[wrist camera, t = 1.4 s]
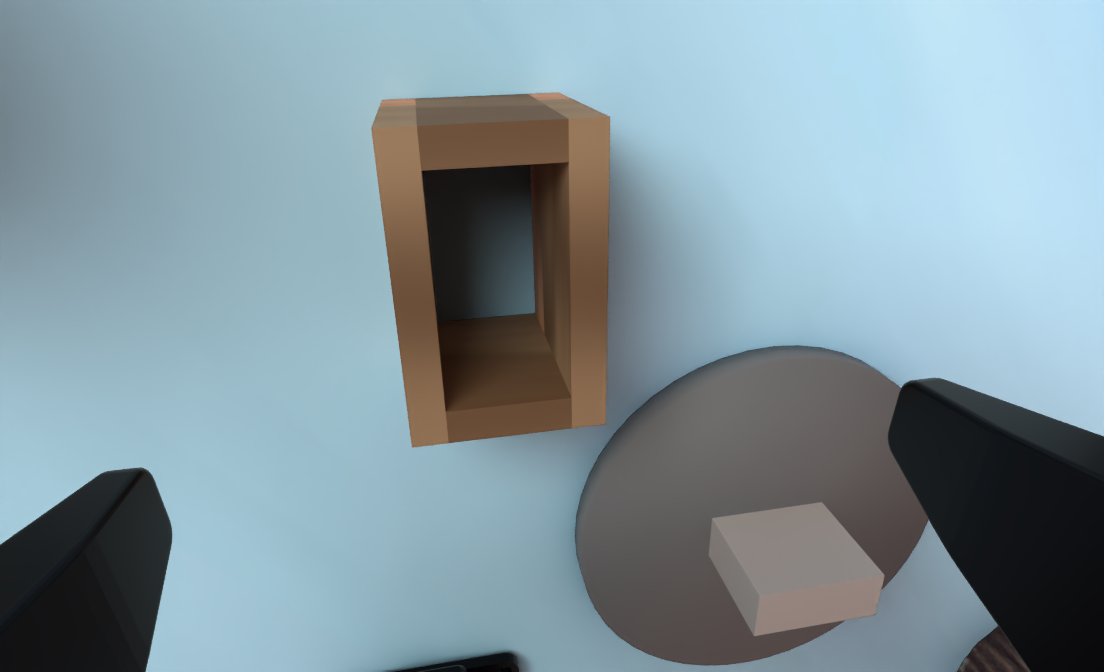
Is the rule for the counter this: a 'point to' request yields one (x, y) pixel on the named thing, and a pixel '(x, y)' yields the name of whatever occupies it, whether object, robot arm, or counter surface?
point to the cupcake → (993, 656)
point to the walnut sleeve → (559, 266)
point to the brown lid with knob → (748, 508)
